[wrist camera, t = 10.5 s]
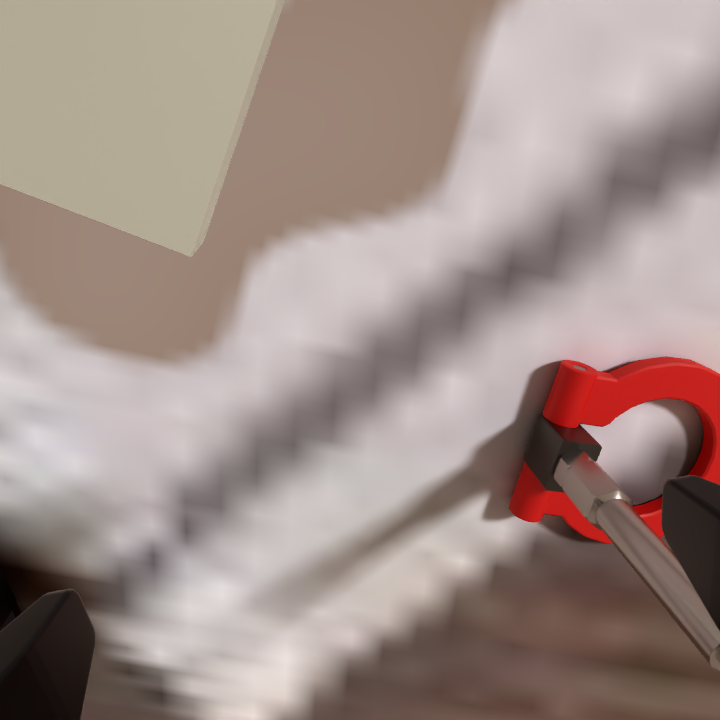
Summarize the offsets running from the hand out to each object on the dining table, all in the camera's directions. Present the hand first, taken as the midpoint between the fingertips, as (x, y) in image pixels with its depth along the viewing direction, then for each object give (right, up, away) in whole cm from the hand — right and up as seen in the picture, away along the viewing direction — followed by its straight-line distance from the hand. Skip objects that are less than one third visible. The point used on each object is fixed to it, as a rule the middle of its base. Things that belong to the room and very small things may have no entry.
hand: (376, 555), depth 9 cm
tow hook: (+11, -1, +16) cm, 19 cm away
